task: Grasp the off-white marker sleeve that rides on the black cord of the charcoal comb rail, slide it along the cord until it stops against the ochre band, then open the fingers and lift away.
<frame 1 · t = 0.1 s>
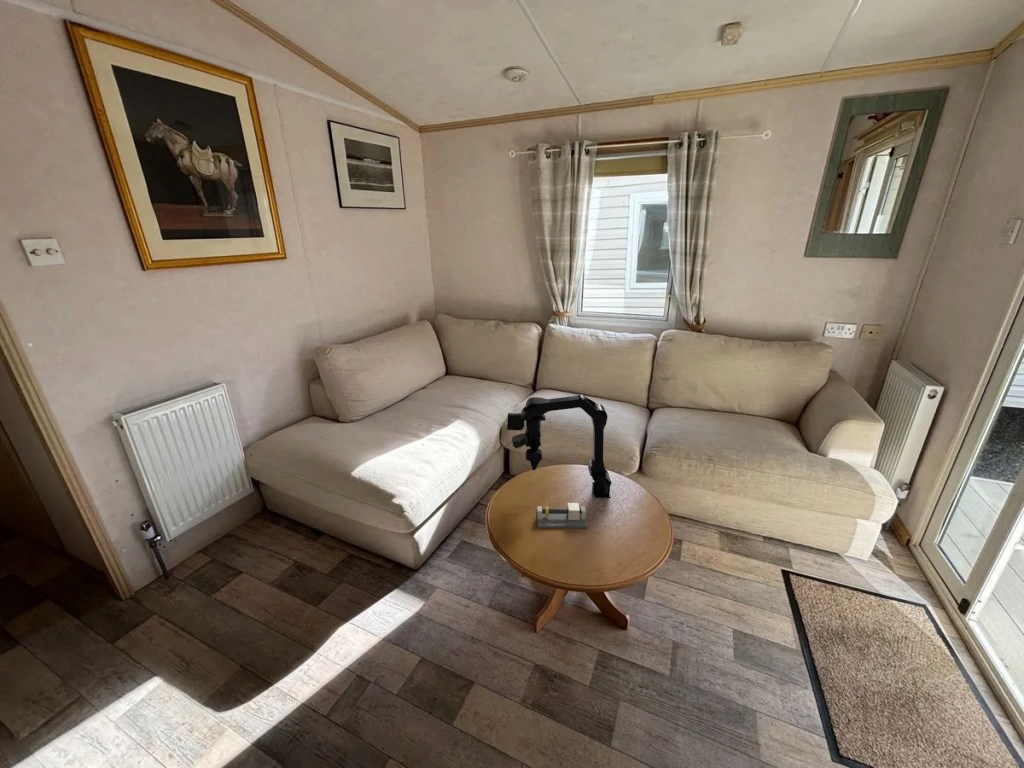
hand: (533, 463, 161), 14 cm above the table, fingers open, 9 cm apart
sleeve: (573, 511, 150), point 3 cm above the table, slide at 0.0 cm
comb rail: (561, 518, 151), on the table
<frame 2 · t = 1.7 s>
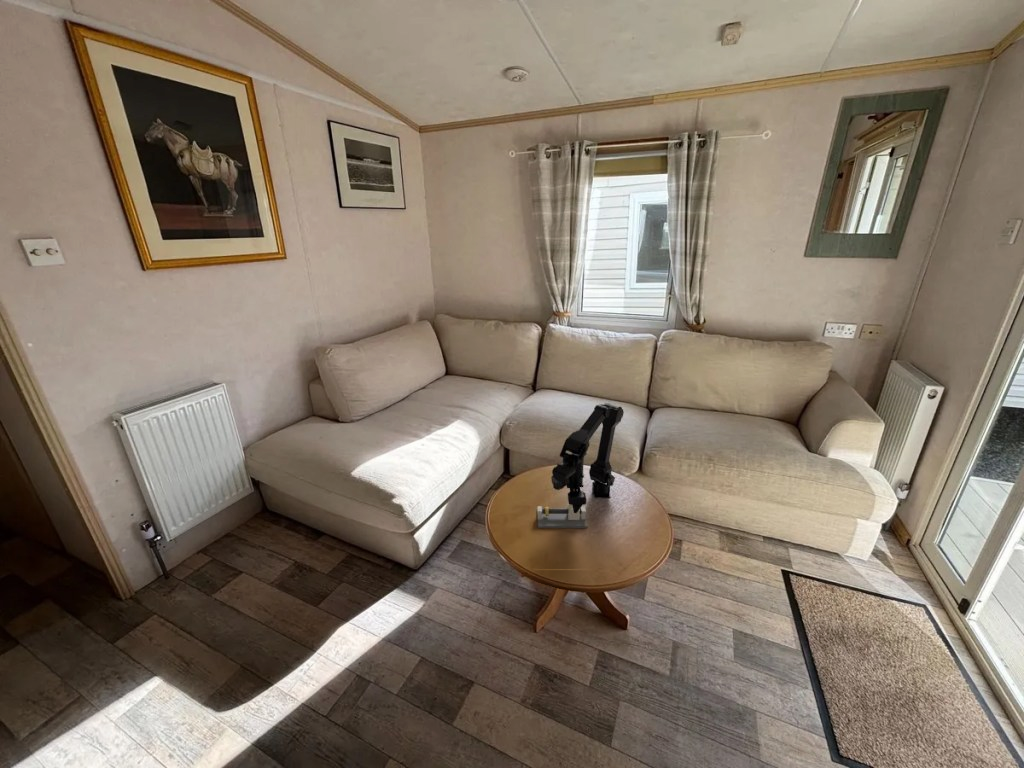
hand: (573, 504, 149), 6 cm above the table, fingers open, 9 cm apart
nothing on the table moved.
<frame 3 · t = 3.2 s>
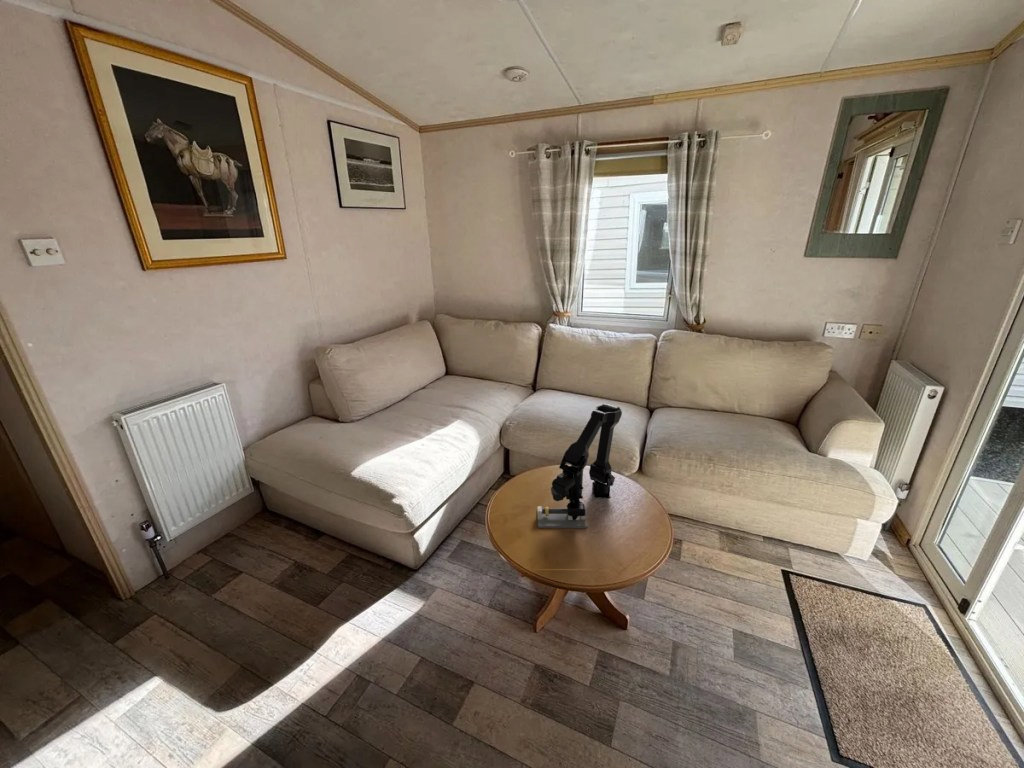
hand: (573, 515, 151), 2 cm above the table, fingers closed on sleeve, 4 cm apart
sleeve: (573, 511, 150), point 3 cm above the table, slide at 0.0 cm, touching gripper
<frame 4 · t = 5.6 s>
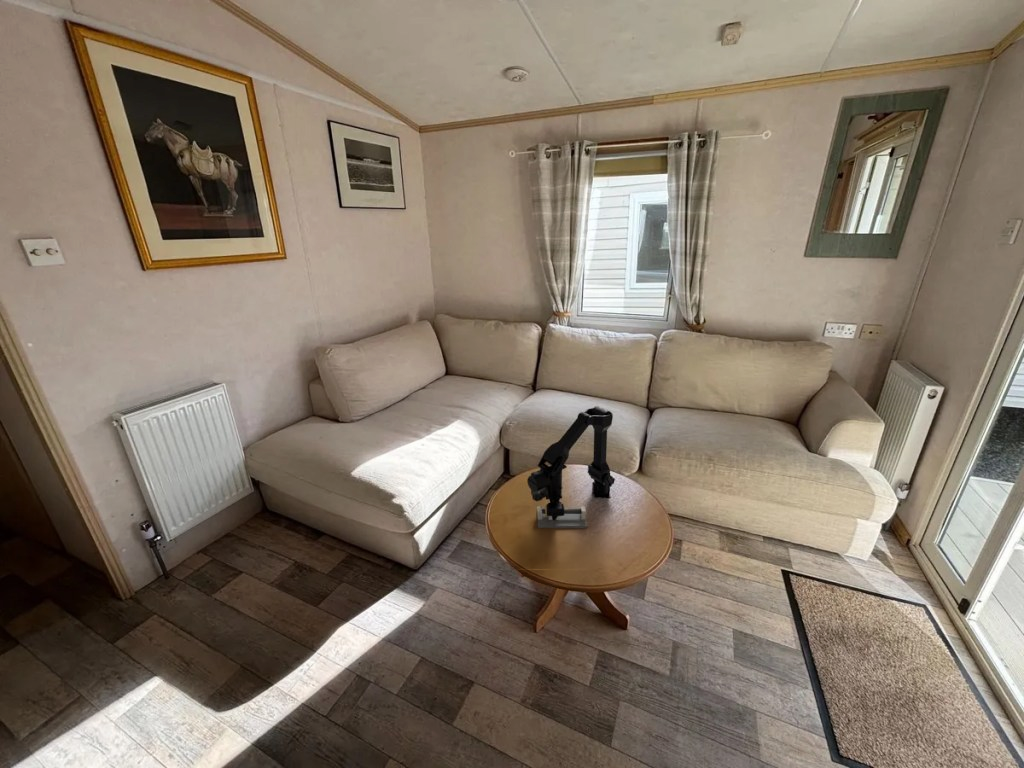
hand: (553, 515, 151), 2 cm above the table, fingers closed on sleeve, 4 cm apart
sleeve: (553, 511, 150), point 3 cm above the table, slide at 7.4 cm, touching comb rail, gripper
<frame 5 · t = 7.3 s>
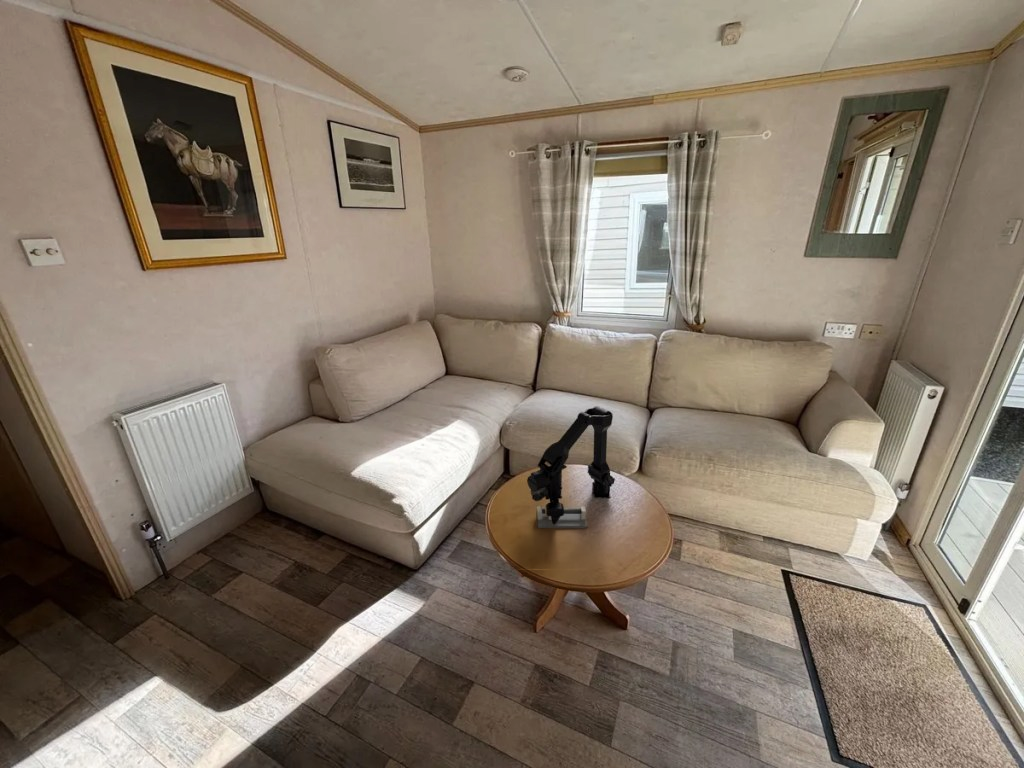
hand: (553, 515, 151), 2 cm above the table, fingers open, 9 cm apart
sleeve: (553, 511, 150), point 3 cm above the table, slide at 7.4 cm, touching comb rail
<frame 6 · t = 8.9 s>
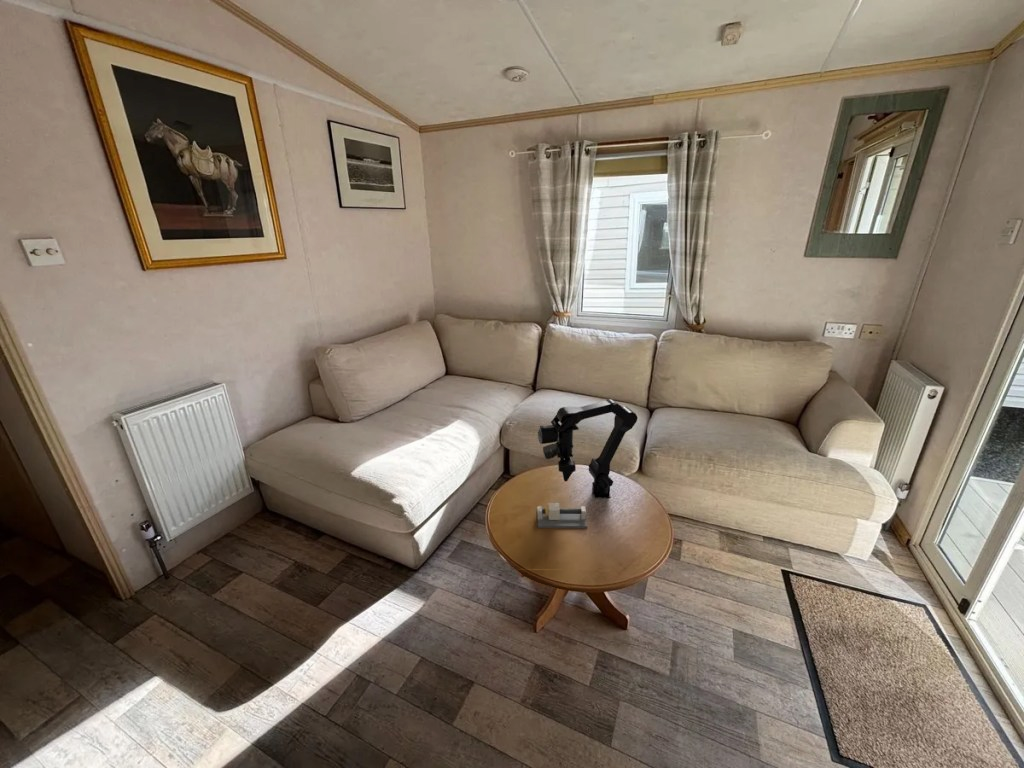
hand: (564, 474, 158), 12 cm above the table, fingers open, 9 cm apart
nothing on the table moved.
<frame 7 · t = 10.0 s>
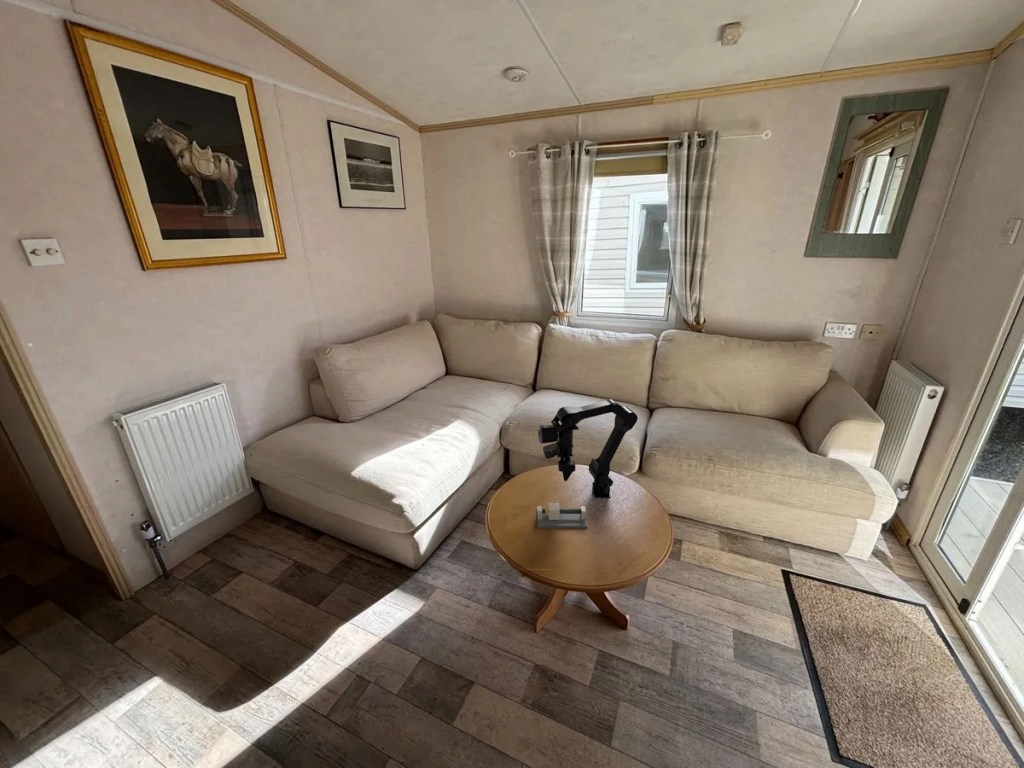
hand: (564, 474, 158), 12 cm above the table, fingers open, 9 cm apart
nothing on the table moved.
at the end: sleeve slide at 7.4 cm; the gripper is holding nothing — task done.
